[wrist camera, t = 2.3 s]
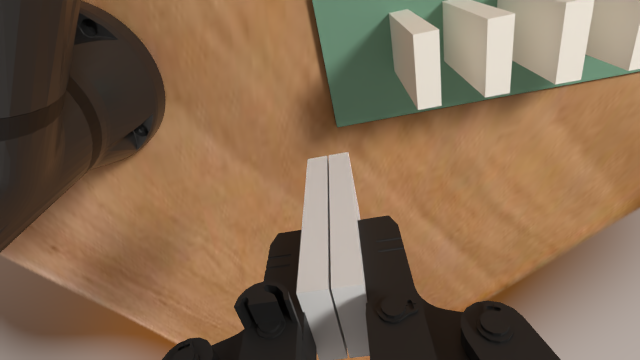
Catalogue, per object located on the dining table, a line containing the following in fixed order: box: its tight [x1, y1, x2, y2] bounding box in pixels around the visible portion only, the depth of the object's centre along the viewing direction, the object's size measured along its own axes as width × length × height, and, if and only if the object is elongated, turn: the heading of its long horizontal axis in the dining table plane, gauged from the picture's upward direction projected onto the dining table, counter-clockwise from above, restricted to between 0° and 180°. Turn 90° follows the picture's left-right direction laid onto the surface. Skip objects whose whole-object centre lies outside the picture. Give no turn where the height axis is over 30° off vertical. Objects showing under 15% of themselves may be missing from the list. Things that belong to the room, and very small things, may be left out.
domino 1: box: [389, 9, 442, 110], centre depth 28 cm, size 2×5×10 cm, turn 12°
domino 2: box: [442, 0, 515, 98], centre depth 27 cm, size 2×5×10 cm, turn 12°
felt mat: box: [312, 0, 640, 127], centre depth 31 cm, size 34×14×1 cm, turn 102°
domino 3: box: [497, 0, 595, 85], centre depth 27 cm, size 2×5×10 cm, turn 12°
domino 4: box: [585, 0, 640, 71], centre depth 26 cm, size 2×5×10 cm, turn 12°
